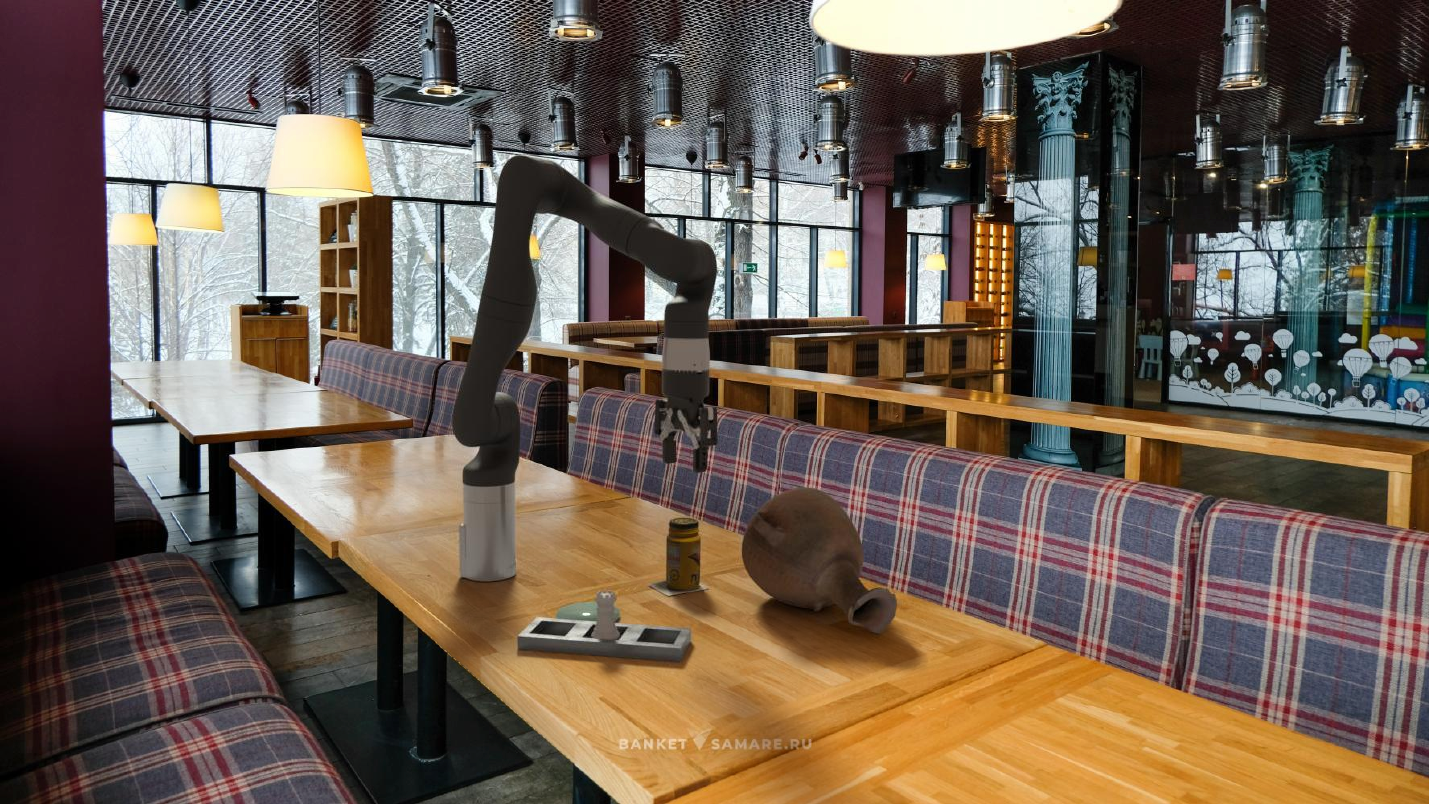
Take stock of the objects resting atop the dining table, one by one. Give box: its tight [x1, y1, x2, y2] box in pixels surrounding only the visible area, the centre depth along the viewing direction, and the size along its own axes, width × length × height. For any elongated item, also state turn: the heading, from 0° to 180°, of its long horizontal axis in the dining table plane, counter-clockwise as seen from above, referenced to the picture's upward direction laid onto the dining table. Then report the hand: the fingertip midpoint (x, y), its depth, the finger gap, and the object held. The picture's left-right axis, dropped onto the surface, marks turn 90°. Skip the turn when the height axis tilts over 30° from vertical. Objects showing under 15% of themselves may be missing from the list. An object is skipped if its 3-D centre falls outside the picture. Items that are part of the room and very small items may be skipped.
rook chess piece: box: [591, 589, 620, 640], centre depth 136 cm, size 4×4×8 cm
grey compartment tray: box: [517, 616, 692, 663], centre depth 136 cm, size 24×8×2 cm, turn 81°
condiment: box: [647, 517, 710, 597], centre depth 163 cm, size 7×8×12 cm
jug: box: [741, 486, 898, 635], centre depth 151 cm, size 20×20×30 cm
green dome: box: [555, 601, 621, 623], centre depth 148 cm, size 10×10×1 cm
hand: (684, 467), depth 149 cm, fingers open, 8 cm apart
